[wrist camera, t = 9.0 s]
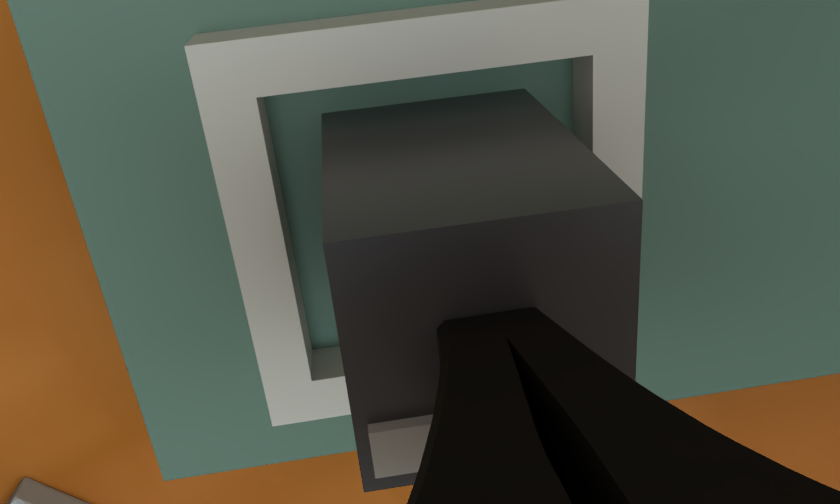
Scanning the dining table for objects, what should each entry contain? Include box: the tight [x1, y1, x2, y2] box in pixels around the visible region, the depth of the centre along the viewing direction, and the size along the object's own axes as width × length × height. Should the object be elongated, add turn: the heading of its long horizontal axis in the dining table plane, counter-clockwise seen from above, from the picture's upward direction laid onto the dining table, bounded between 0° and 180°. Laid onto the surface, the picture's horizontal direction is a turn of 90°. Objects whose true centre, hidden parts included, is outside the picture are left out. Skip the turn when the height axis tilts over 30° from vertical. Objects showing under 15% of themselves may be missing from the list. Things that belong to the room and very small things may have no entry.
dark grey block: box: [321, 88, 643, 492], centre depth 13 cm, size 4×4×6 cm
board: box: [7, 0, 840, 481], centre depth 15 cm, size 18×14×3 cm
